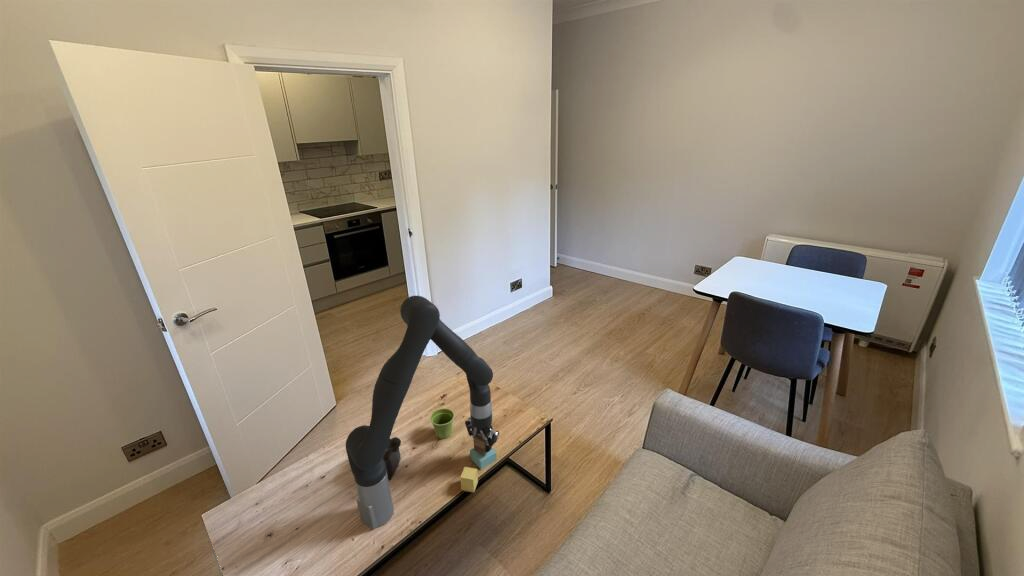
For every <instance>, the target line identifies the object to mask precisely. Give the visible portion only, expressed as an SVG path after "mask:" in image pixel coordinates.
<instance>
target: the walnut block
mask: <svg viewBox="0 0 1024 576" xmlns="http://www.w3.org/2000/svg"><path fill="white" fill-rule="evenodd" d="M488 440H489V438H488ZM473 448H474V450H475V451H477V452H479V453H480V454H482V455H485V454H486V453H487V452H486V443H485V440H483V437H482V435H481V434H477V436H475V437H474V439H473Z"/></svg>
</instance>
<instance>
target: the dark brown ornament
mask: <svg viewBox="0 0 1024 576" xmlns="http://www.w3.org/2000/svg"><path fill="white" fill-rule="evenodd" d="M401 444H402V441H401V439H400V438H399V437H396V436H394V437H391V438H390V439H389V443H388V446H387V450H386V452H385V455H384V457H383V459H384V461H385V464H386V469H387V475H388V481H391V480H392V479H393V477H394V475H395V474H396V471H397V469H398V467H399V466H400V462H401V459H402V458H401V452H400V446H401Z"/></svg>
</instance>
